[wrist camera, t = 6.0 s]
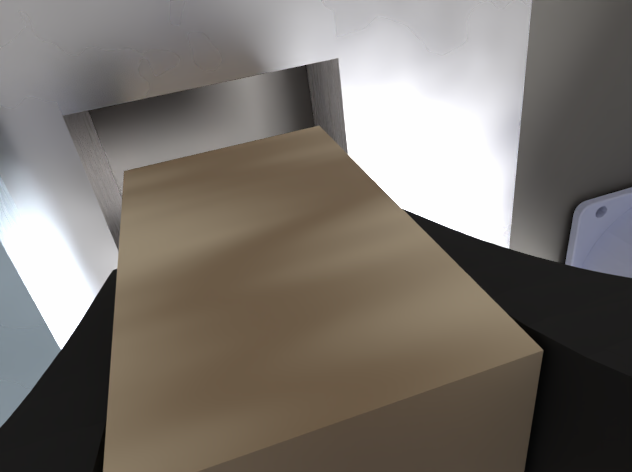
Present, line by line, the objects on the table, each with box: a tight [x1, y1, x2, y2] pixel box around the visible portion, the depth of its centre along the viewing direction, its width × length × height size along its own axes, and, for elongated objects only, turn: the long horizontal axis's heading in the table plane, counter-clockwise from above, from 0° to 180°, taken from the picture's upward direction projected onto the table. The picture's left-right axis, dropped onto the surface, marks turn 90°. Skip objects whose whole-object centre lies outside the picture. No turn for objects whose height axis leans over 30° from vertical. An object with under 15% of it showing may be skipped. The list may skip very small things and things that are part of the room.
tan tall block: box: [103, 126, 543, 472], centre depth 8 cm, size 4×4×7 cm
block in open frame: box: [0, 0, 532, 427], centre depth 13 cm, size 16×12×4 cm
